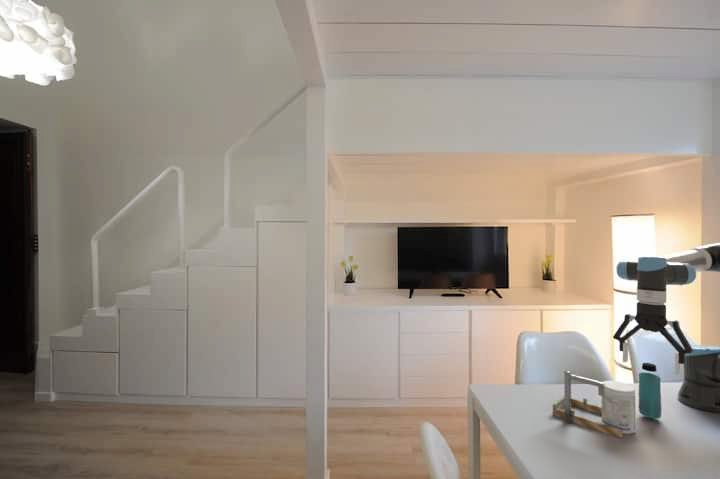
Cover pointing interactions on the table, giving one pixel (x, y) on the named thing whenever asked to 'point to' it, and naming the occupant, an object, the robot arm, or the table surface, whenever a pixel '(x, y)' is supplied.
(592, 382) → the hook post
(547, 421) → the table surface
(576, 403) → the bay board
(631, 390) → the supplement tub
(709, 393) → the robot arm
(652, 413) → the beverage bottle
